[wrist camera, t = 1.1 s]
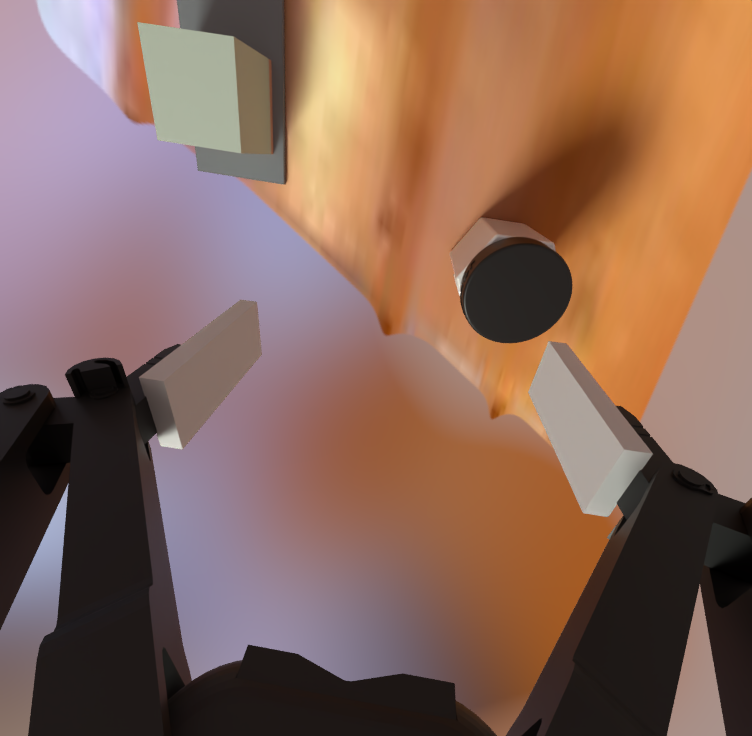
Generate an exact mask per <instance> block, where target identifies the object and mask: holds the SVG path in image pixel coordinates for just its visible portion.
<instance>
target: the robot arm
mask: <svg viewBox="0 0 752 736" xmlns="http://www.w3.org/2000/svg"><path fill="white" fill-rule="evenodd" d="M261 355H262V352H261V341H260V331H259V319H258V308H257V302H254V301H246V300H240V301H239V302H237V303H236V304H235V305H233V306H232V307H231V308H229V309H228V310H227V311H225V312H224V313H223V314H221V315H220V316H219V317H217V318H216V319H215V320H213V321H212V322H211V323H210V324H208V325H207V326H206V327H205V328H203V329H202V330H200V331H199V332H198V333H196V334H195V335H194V336H193V337H191V338H190V339H189V340H187V341H186V342H185V343H183V344H182V345H180V344H177V345H174V346H172V347H169V348H167V349H164V350H163V351H161V352H160V353H159V354H157V355H156V356H155V357H154V358H152V359H151V360H149V361H148V362H146V364H144V365H142V366H141V367H140V368H138V369H137V370H135V371H134V372H133V373H131V374H130V375H129V376H127V377H126V375H125V372H124V369H123V366H122V364H121V362H120V361H119V360H116V359H114V358H97V359H91V360H87V361H83V362H81V363H79V364H76V365H74V366H73V367H71V368H70V369H68V370H67V372H66V374H65V376H66V378H67V380H68V383H69V385H70V387H71V389H72V391H73V394H74V396H75V397H66V398H65V397H64V398H53V397H52V394H51V393H50V390H49V389H48V388H47V387H46V386H43V385H39V384H34V385H33V384H29V385H23V386H16V387H14V388H9V389H6V390H5V391H3V392H1V393H0V629H1V627H2V625H3V623H4V621H5V618H6V616H7V614H8V612H9V610H10V608H11V605H12V603H13V601H14V599H15V597H16V594H17V593H18V590H19V588H20V586H21V584H22V582H23V580H24V578H25V575H26V573H27V571H28V569H29V567H30V565H31V562H32V560H33V558H34V556H35V554H36V552H37V550H38V547H39V545H40V543H41V541H42V539H43V536H44V534H45V532H46V530H47V528H48V525H49V524H50V521H51V519H52V517H53V515H54V513H55V511H56V509H57V506H58V504H59V502H60V500H61V498H62V496H63V493H64V491H65V489H66V487H67V485H68V483H69V485H68V497H67V510H66V522H65V535H64V546H63V558H62V571H61V582H60V595H59V607H58V620H57V625H56V628H55V630H54V632H52V633H50V634H48V635H46V636H45V637H44V639H43V641H42V642H41V644H40V647H39V653H38V657H37V664H36V672H35V681H34V690H33V698H32V707H31V716H30V725H29V733H28V736H497V735H496V734H495V733H494V732H493V731H492V730H491V728H490V727H489V726H488V725H487V724H486V723H485V722H484V721H482V720H481V719H480V718H479V717H478V716H477V715H476V714H475V713H473V712H472V711H471V710H469V709H468V708H466V707H465V706H464V705H463V704H461V703H459V702H457V701H456V700H455V684H454V683H450V682H445V681H440V680H434V679H429V678H423V677H418V676H413V675H407V674H397V675H391V676H384V677H377V678H371V679H364V680H358V681H345V680H342V679H341V678H339V677H337V676H335V675H334V674H332V673H330V672H328V671H327V670H325V669H323V668H321V667H320V666H318V665H316V664H314V663H313V662H311V661H309V660H307V659H305V658H304V657H302V656H300V655H298V654H295V653H290V652H284V651H279V650H274V649H268V648H263V647H258V646H252V645H248V647H247V650H246V652H245V655H244V658H243V660H241V661H235V662H232V663H228V664H225V665H222V666H219V667H217V668H215V669H212V670H210V671H208V672H206V673H204V674H203V675H201V676H199V677H198V678H196V679H194V680H193V681H192V680H191V675H190V671H189V667H188V663H187V659H186V656H185V652H184V648H183V643H182V638H181V631H180V625H179V619H178V612H177V607H176V600H175V594H174V588H173V582H172V576H171V570H170V563H169V557H168V552H167V545H166V539H165V533H164V527H163V521H162V514H161V508H160V502H159V497H158V490H157V484H156V477H155V471H154V465H153V460H152V453H151V448H150V445H149V442H148V441H149V440H150V439H151V438H152V437H153V436H154V435H155V434H156V433H157V436H158V439H159V442H160V445H161V446H164V447H170V448H177V449H183V448H184V447H185V446H186V445H187V444H188V442H189V441H190V440H191V439H192V438H193V436H194V435H195V434H196V433H197V432H198V430H199V429H200V428H201V427H202V426H203V424H204V423H205V422H206V421H207V419H208V418H209V417H210V416H211V415H212V414H213V412H214V411H215V410H216V409H217V408H218V406H219V405H220V404H221V403H222V402H223V400H224V399H225V398H226V397H227V395H228V394H229V393H230V392H231V391H232V390H233V388H234V387H235V386H236V385H237V384H238V382H239V381H240V380H241V379H242V378H243V376H244V375H245V374H246V373H247V371H248V370H249V369H250V368H251V367H252V366H253V364H254V363H255V362H256V361H257V360H258V358H259V357H260V356H261ZM528 393H529V395H530V397H531V399H532V402H533V404H534V406H535V408H536V410H537V413H538V415H539V417H540V419H541V421H542V424H543V426H544V428H545V430H546V432H547V435H548V437H549V439H550V441H551V443H552V446H553V448H554V450H555V452H556V454H557V457H558V459H559V461H560V463H561V465H562V467H563V470H564V472H565V474H566V476H567V479H568V481H569V483H570V485H571V487H572V489H573V492H574V494H575V496H576V498H577V501H578V503H579V505H580V507H581V509H582V511H583V513H586V514H593V515H599V516H605V517H608V516H609V515H610V513H611V512H612V511H613V509H614V508H615V506H616V505H617V504H618V506H619V508H620V510H621V511H622V513H623V515H624V516H623V517H622V518H621V520H620V521H619V522H618V524H617V525H616V526H615V528H614V529H613V530H612V532H611V533H610V534H609V536H608V537H607V538H608V539H610V540H609V542H608V544H607V546H606V547H605V549H604V552H603V553H602V555H601V557H600V559H599V561H598V563H597V565H596V567H595V569H594V571H593V573H592V575H591V577H590V579H589V581H588V583H587V585H586V586H585V588H584V590H583V592H582V594H581V596H580V598H579V600H578V602H577V604H576V606H575V608H574V610H573V612H572V614H571V616H570V618H569V620H568V622H567V624H566V626H565V628H564V630H563V632H562V633H561V636H560V637H559V640H558V641H557V643H556V645H555V647H554V649H553V651H552V653H551V655H550V657H549V659H548V661H547V663H546V665H545V667H544V669H543V671H542V673H541V674H540V677H539V679H538V680H537V683H536V684H535V686H534V688H533V690H532V692H531V694H530V696H529V698H528V700H527V702H526V704H525V706H524V708H523V710H522V711H521V713H520V714H519V716H518V718H517V719H516V721H515V722H514V724H513V725H512V727H511V728H510V730H509V731H508V733H507V735H506V736H667V731H668V727H669V722H670V718H671V713H672V708H673V704H674V699H675V695H676V690H677V685H678V681H679V676H680V671H681V666H682V662H683V658H684V653H685V649H686V644H687V639H688V634H689V630H690V625H691V621H692V616H693V611H694V607H695V602H696V598H697V593H698V589H699V584H700V587H701V592H702V598H703V604H704V609H705V616H706V621H707V627H708V633H709V639H710V644H711V650H712V656H713V662H714V667H715V673H716V679H717V684H718V691H719V696H720V702H721V708H722V714H723V719H724V725H725V731H726V736H752V498H751V499H750V500H749V501H748V502H747V503H743V502H740V501H737V500H734V499H732V498H728V497H726V496H723V495H720V494H718V492H717V489H716V488H715V487H714V485H713V484H712V483H711V482H710V481H708V480H707V479H706V478H705V477H704V476H702V475H701V474H699V473H697V472H695V471H694V470H692V469H690V468H688V467H685V466H683V465H679V464H675V463H673V462H672V461H671V460H670V458H669V457H668V456H667V455H666V454H665V452H664V451H663V450H662V449H661V447H660V446H659V445H658V444H657V443H656V441H655V440H654V439H653V438H652V437H650V434H649V433H648V432H647V431H646V430H645V429H644V428H643V426H642V425H641V423H640V422H639V421H638V420H637V418H636V417H635V416H634V415H632V414H631V413H630V412H628V411H627V410H625V409H624V408H623V407H621V406H615V405H614V403H613V402H612V401H611V400H610V398H609V397H608V396H607V394H606V393H605V392H604V391H603V389H602V388H601V387H600V386H599V384H598V383H597V382H596V380H595V379H594V378H593V377H592V375H591V374H590V373H589V371H588V370H587V369H586V368H585V366H584V365H583V364H582V363H581V361H580V360H579V359H578V357H577V356H576V355H575V354H574V352H573V351H572V350H571V349H570V347H569V346H568V345H567V344H566V343H558V342H551V341H549V342H548V344H547V347H546V349H545V352H544V354H543V357H542V359H541V362H540V364H539V367H538V369H537V372H536V374H535V377H534V379H533V382H532V384H531V387H530V389H529V392H528Z"/></svg>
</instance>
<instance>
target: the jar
mask: <svg viewBox="0 0 752 736" xmlns="http://www.w3.org/2000/svg"><path fill="white" fill-rule="evenodd" d="M450 258H451V262H452V266H453V270H454V279H455V282H456V286H457V289H458V292H459V295H460V302H461V306H462V310H463V313H464V315H465V317H466V319H467V321H468V322H469V324H470V325H471V327H472V328H473V329H474V330H475V331H476V332H477V333H479V334H480V335H481V336H483V337H485V338H487V339H489V340H492V341H495V342H500V343H518V342H523V341H527V340H530V339H533V338H535V337H537V336H539V335H541V334H543V333H544V332H546V331H547V330H548V329H550V328H551V327H552V326H553V325H554V324H555V323H556V322H557V321H558V320H559V319H560V318H561V316H562V315H563V313H564V312H565V310H566V308H567V306H568V304H569V301H570V298H571V294H572V277H571V273H570V270H569V268H568V266H567V264H566V262H565V261H564V259H563V258H562V257H561V256H560V255H559V254H558V253H557V252H556V250H555V244H554V243H553V242H552V241H550V240H549V239H547V238H545V237H544V236H542V235H541V234H539V233H538V232H536V231H535V230H533V229H532V228H530V227H529V226H527V225H526V224H523V223H516V222H510V221H503V220H497V219H490V218H483V217H481V218H479V220H478V221H477V222H476V223H475V224H474V225H473V227H472V228H471V229H470V230H469V231H468V232H467V233H466V235H465V236H464V237H463V238H462V239H461V240H460V241H459V243H458V244H457V245H456V246H455V247H454V248H453V249H452V251H451V252H450Z"/></svg>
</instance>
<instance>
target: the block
mask: <svg viewBox="0 0 752 736" xmlns="http://www.w3.org/2000/svg"><path fill="white" fill-rule="evenodd" d="M137 23H138V29H139V35H140V41H141V46H142V52H143V58H144V64H145V70H146V76H147V81H148V87H149V93H150V99H151V105H152V111H153V116H154V122H155V128H156V133H157V139H158V140H160V141H167V142H173V143H179V144H185V145H192V146H198V147H204V148H211V149H217V150H223V151H229V152H236V153H246V154H273V111H272V66H271V60H270V59H268V58H267V57H265V56H263V55H262V54H260V53H259V52H257V51H256V50H254V49H253V48H251V47H249V46H248V45H246V44H245V43H243V42H242V41H240V40H238V39H237V38H235V37H234V36H227V35H220V34H214V33H207V32H200V31H193V30H187V29H180V28H173V27H166V26H160V25H153V24H146V23H139V22H137Z"/></svg>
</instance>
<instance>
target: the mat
mask: <svg viewBox="0 0 752 736" xmlns="http://www.w3.org/2000/svg"><path fill="white" fill-rule="evenodd" d="M177 5H178V13H179V21H180V29H187V30H193V31H200V32H207V33H214V34H220V35H227V36H234V37H235V38H237V39H238V40H240V41H242V42H243V43H245V44H246V45H248V46H249V47H251V48H253V49H254V50H256V51H257V52H259V53H260V54H262V55H263V56H265V57H267V58H268V59H270V60H271V66H272V111H273V154H246V153H236V152H229V151H223V150H217V149H211V148H204V147H198V146H195V150H196V158H197V166H198V171H203V172H210V173H216V174H222V175H228V176H234V177H241V178H247V179H253V180H259V181H265V182H272V183H278V184H285V55H284V0H177Z"/></svg>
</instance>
